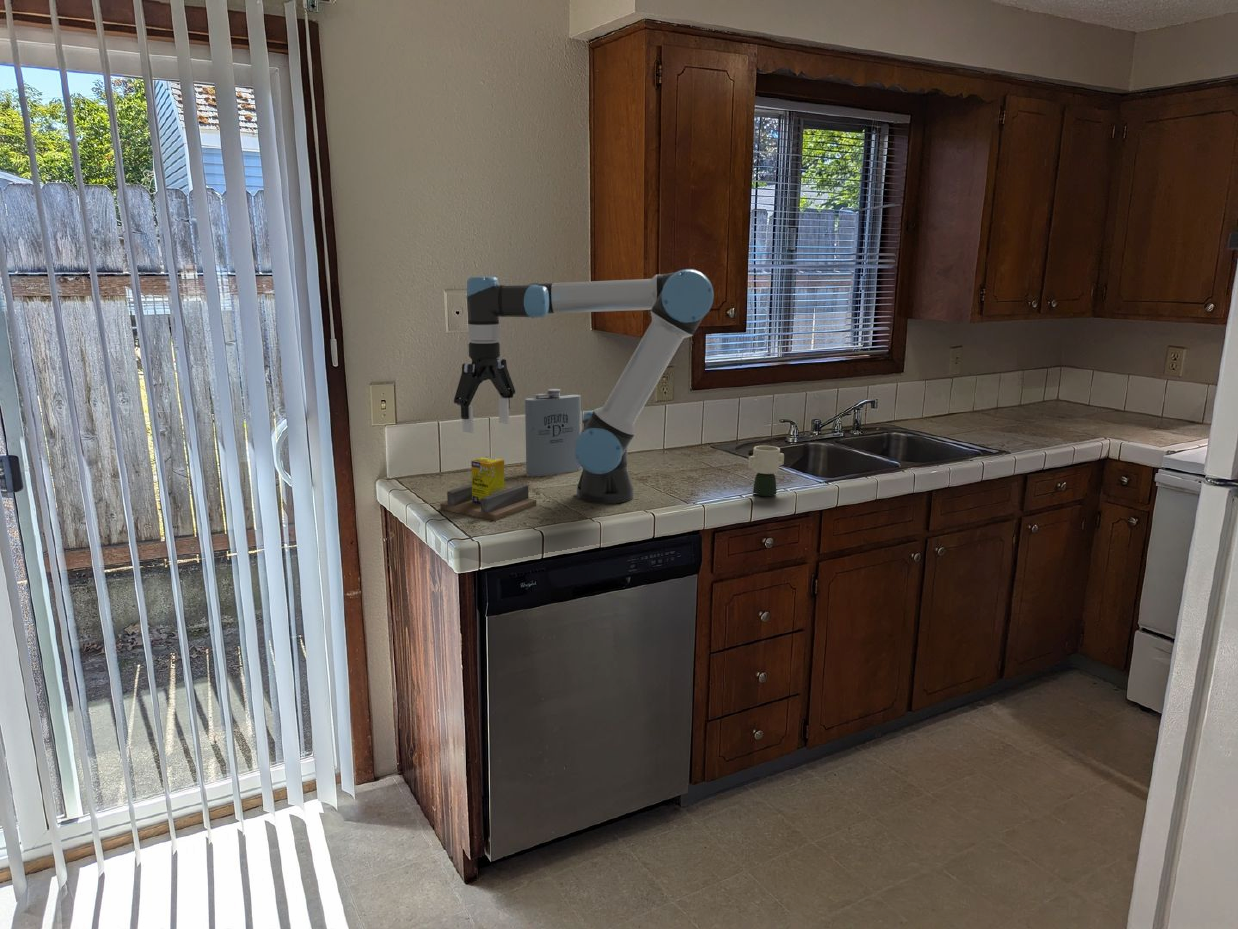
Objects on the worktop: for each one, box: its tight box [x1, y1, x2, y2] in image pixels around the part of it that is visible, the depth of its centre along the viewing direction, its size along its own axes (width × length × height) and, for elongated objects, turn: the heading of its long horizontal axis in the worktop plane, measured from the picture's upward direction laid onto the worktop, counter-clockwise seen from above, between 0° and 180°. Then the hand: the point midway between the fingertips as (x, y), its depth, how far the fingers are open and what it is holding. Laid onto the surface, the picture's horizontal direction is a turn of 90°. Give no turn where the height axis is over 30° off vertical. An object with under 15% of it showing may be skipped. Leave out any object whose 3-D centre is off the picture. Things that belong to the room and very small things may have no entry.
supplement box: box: [470, 456, 506, 504], centre depth 217 cm, size 6×6×11 cm
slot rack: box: [439, 483, 537, 522], centre depth 218 cm, size 18×16×5 cm
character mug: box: [747, 445, 785, 497], centre depth 230 cm, size 11×7×13 cm, turn 112°
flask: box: [524, 388, 582, 477], centre depth 252 cm, size 17×5×25 cm, turn 121°
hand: (486, 427), depth 214 cm, fingers open, 13 cm apart
